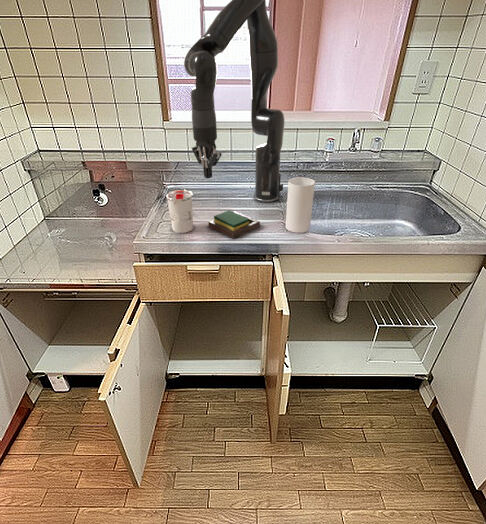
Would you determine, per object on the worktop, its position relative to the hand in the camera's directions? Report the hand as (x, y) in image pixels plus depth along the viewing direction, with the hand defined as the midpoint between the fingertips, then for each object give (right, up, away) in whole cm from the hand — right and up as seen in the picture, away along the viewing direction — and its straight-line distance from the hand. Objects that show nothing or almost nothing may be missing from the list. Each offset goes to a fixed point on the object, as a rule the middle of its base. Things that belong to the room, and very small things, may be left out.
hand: (208, 177), depth 121 cm
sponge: (+8, -17, 0) cm, 19 cm away
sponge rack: (+8, -17, 0) cm, 19 cm away
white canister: (-8, -18, -1) cm, 20 cm away
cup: (+30, -17, -1) cm, 35 cm away
